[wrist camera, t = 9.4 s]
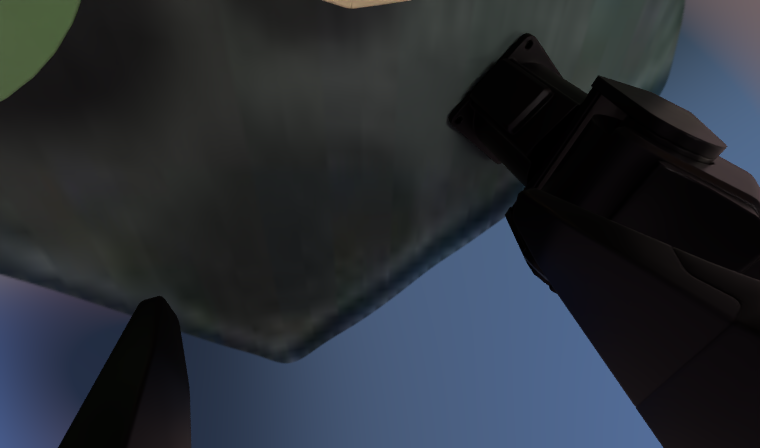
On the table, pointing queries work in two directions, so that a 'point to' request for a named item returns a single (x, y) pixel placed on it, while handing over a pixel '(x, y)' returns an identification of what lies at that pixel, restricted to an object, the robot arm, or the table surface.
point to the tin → (361, 3)
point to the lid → (30, 38)
